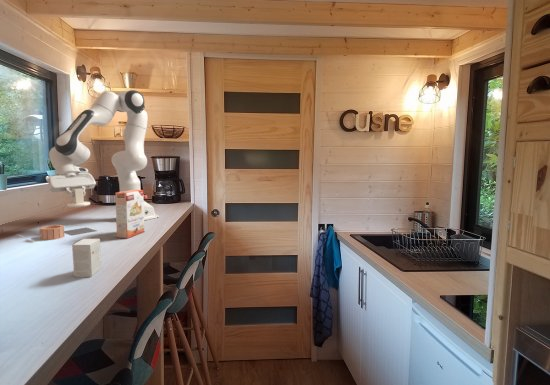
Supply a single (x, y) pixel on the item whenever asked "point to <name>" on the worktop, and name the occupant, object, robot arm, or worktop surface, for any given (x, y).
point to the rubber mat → (79, 231)
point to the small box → (86, 257)
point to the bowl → (52, 232)
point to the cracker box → (129, 213)
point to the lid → (78, 199)
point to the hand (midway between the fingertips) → (78, 195)
